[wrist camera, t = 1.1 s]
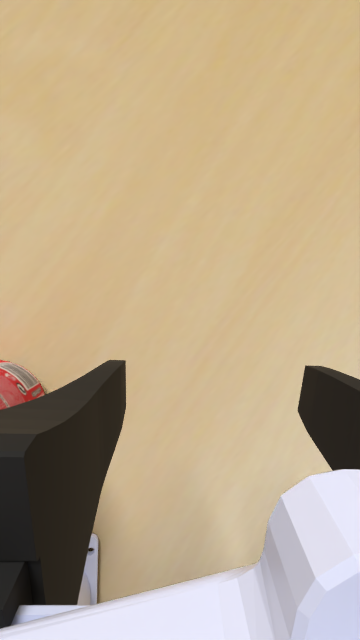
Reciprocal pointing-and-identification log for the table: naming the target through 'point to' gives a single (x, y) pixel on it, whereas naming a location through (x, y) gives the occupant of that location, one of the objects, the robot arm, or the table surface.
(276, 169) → the table surface
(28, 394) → the soda can
